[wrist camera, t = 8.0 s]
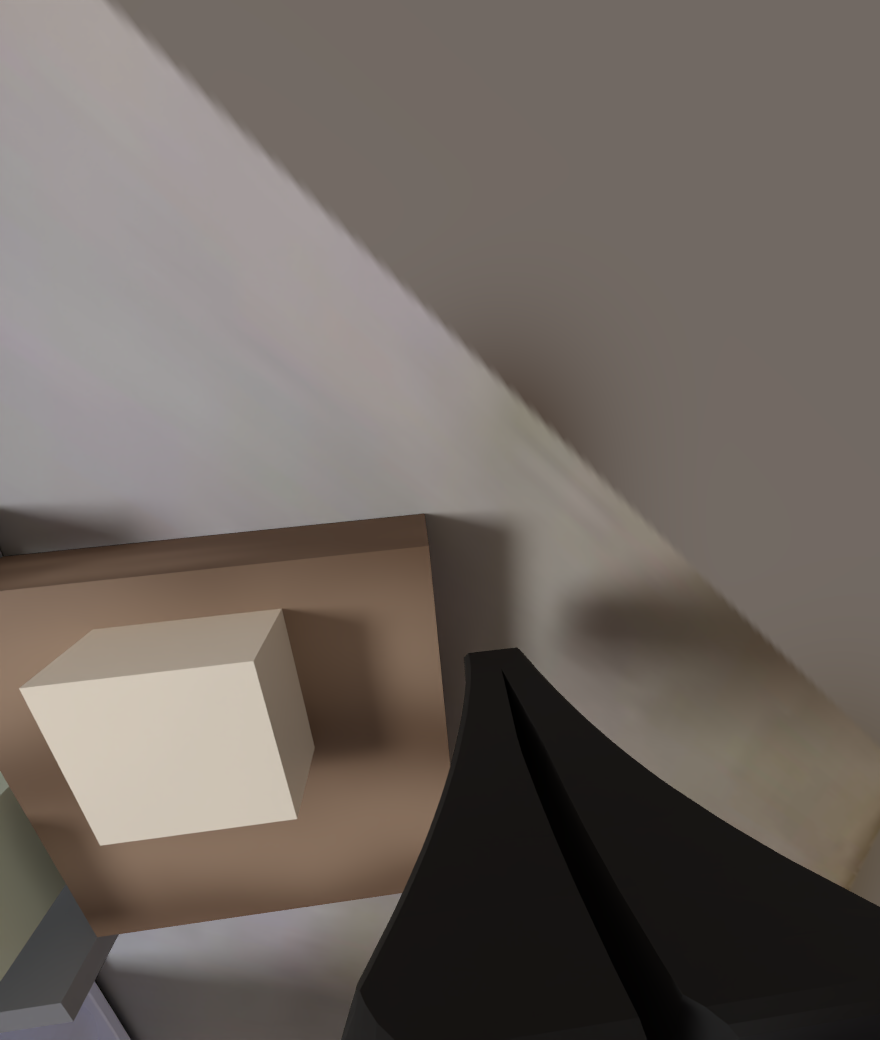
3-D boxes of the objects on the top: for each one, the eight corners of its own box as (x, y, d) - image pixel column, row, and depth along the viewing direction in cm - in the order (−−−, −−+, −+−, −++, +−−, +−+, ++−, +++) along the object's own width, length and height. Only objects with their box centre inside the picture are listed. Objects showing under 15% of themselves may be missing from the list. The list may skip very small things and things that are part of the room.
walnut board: (453, 811, 16) (461, 884, 14) (143, 853, 16) (97, 936, 13) (424, 513, 12) (428, 545, 10) (3, 556, 12) (-99, 601, 9)
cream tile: (314, 747, 12) (297, 819, 10) (150, 768, 11) (100, 845, 10) (281, 608, 10) (253, 661, 8) (92, 629, 10) (19, 688, 8)
